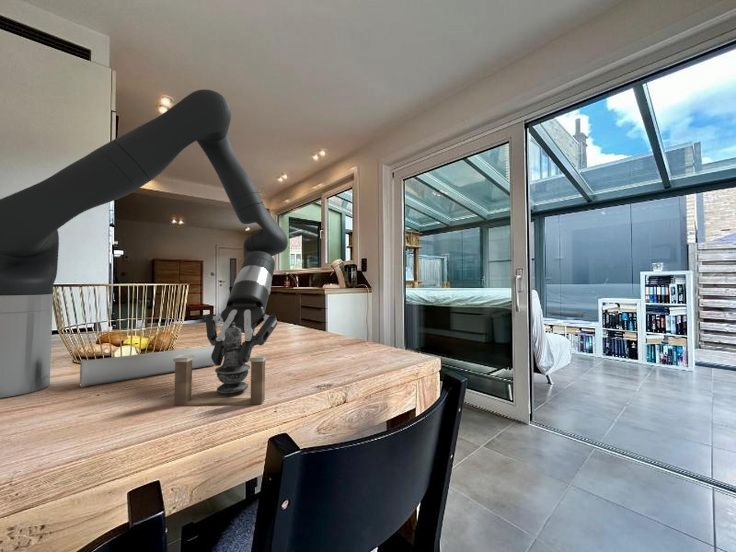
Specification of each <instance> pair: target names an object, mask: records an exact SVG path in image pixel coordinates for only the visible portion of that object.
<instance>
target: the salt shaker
mask: <svg viewBox="0 0 736 552" xmlns="http://www.w3.org/2000/svg"><path fill="white" fill-rule="evenodd" d="M242 334H243V333H242V331H241V329H240V328H238V327H236V326H235V323H234V322H233V323H232V326H231V327H229V328H227V329H226V330H225V346H224V347H223V348H222V349H224V357H223V360H222V364H221V365H220V366H217V367H216V368H215V370H214V371H215V373H216V377H217V378H218V380H219V381H220V383H222V384H221V385H219V386H218V387H217V388H216V392H218V393H221V394H234V393H239V392H242V391H245V390H247V389H248V388H249V384H248V383H246V382H245V381H244V380H245V379H246V378H247V377H248V374H249V370H251V365H249V364H246V363H245V365H244V366H240V365H239V363H238V356H239V353H240V349H241V346H242Z"/></svg>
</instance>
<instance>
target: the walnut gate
mask: <svg viewBox="0 0 736 552" xmlns="http://www.w3.org/2000/svg"><path fill="white" fill-rule="evenodd" d="M267 357H268V355H267V354H252V355H250V359H249V362H250V397H215V398H214V397H207V398H205V397H203V398H201V397H195V398H192V387H193V386H192V384H193V383H192V382H193V369H192V359H194V355H179V356H177V357H175V358H173V362H175V372H174V395H173V396H174V399H173V403H174V404H173V405H174V406H242V405H243V406H244V405H245V406H246V405H249V406H250V405H263V403H264V402H265V400H266V399H265V397H266V396H265V394H266V393H265V392H266V390H265V389H266V388H265V387H266V359H267Z"/></svg>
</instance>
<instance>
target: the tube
mask: <svg viewBox="0 0 736 552" xmlns="http://www.w3.org/2000/svg"><path fill="white" fill-rule="evenodd" d="M214 347H215V346H212V345H208V346H200V347H190V348H189V347H188V348H181V349H173V350H164V351H157V352H155V351H154V352H148V353H139V354H131V355H122V356H120V355H119V356H112V357H103V358H97V359H85V358H84V359H81V360H80V365H79V366H80V367H79V385H80V384H81V387H83V388H85V386H86V387H91V386H90V385H92V386H96V384H98V385H103V384H104V385H105V384H108V383H115V382H121V381H129V380H133V379H134V380H135V379H139V378H140V379H141V378H146V377H151V376H159V375H163V374H164V373H165V374H170V373H175V362H173V358H175V357H177V356H179V355H194V359H192V370H196V369H200V368H201V367H202V368H207V367H206V366H208V367H212V365H213V366H216V365H215V364H214V362H213V360H212V358H211V355H212V352H213V350H214ZM195 368H196V369H195ZM158 374H159V375H158Z"/></svg>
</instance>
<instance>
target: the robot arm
mask: <svg viewBox="0 0 736 552" xmlns="http://www.w3.org/2000/svg"><path fill="white" fill-rule="evenodd" d="M231 111H232V110H231V106H230V104H229V102H228V100H227V98H225V97H224V96H223V95H222V94H221V93H219V92H217V91H216V90H211V89H205V88H204V89H199V90H195V91H192V92H191V93H189V94H188V95H186V96H185V97H183V98H182V99H181V100H180V101H178V102H176V103H175V104H174V105H173V106H171V108H169V109H168V110H166V111H164V112H163V113H162V114H160V115H159V116H157V117H155V118H153V119H151V120H149V121H147V122H145V123H143V124H141V125H140V126H139V125H138V127H136V128H133V129H132V130H130V131H128V132H126V133H124V134H122V135H119V137H117V138H114V139H112V140H111V141H109V142H107V143H105V144H104V145H101V146H100V147H98V148H96V149H94V150H93V151H91V152H90V153H88V154H87V155H85V156H83V157H81V158H80V159H78V160H76V161H74V162H72V163H70V164H69V165H67V166H66V167H64V168H62V169H61V170H59V171H57V172H56V173H54V174H52V175H51V176H50V177H48V178H45V179H44V180H41V181H40V182H38V183H36V184H34V185H31V186H29V187H26V188H24V189H21V190H19V191H17V192H14V193H12V194H10V195H6V196H5V197H2V198H0V399H1V398H8V397H14V396H15V397H16V396H20V395H24V394H28V393H29V394H30V393H33V392H36V391H39V390H43V389H45V388H47V387H49V386H50V384H51V367H52V362H51V361H52V336H53V335H52V333H53V303H54V302H53V300H54V299H53V297H54V296H53V295H54V294H53V293H54V285H55V281H56V279H57V275H58V267H59V266H58V263H59V251H60V250H59V247H60V246H59V245H60V242H59V241H60V237H59V231H58V230H59V229H60V228H61V227H63V226H65V224H67V223H68V222H70V221H71V220H72V219H74V218H75V217H77V216H79V215H81V214H82V213H84V212H87V211H88V210H91V209H93V208H97V207H99V206H100V207H101V206H102V205H106V204H108V203H111V202H113V201H117V200H120V199H122V198H124V197H126V196H129V195H130V194H132V193H135V191H137V190H139V189H140V188H142V187H143V186H145V185H146V184H148V183H150V182H151V181H153V180H154V179H156V178H157V177H158V176H159V175H160V174H161V173H162V172H163V171H165V169H167V167H169V165H170V164H171V163H172V162H173V161H174V160H175V159H176V158H177V156H178V155H179V154H180V153H181V152H182V151H184V149H186V148H187V147H188V146H190V145H192V144H193V143H195V142H197V144H199V147H200V148H201V149H202V151H203V152H204V154H205V155H206V157H207V159H208V160H209V162H210V164H211V165H212V167H213V169H214V171H215V173H216V174H217V176H218V179H219V180H220V183H221V184H222V187H223V189H224V191H225V193H226V196H227V198H228V200H229V202H230V204H231V207H232V208H233V210H234V212H235V215H236V216H237V217H236V218H238V221H239V222H240V223H241V224H243V225H249V224H257V225H259V227H260V228H261V229H260V230H258V231H256V232H253V233H251V234H249V235H248V236H247V237H246V238H245V240H244V241H243V244H242V247H243V248H242V249H243V250H242V251H243V261H242V264H241V267H240V271H239V272H238V274H237V275H236V278H235V280H234V282H233V286H232V288H231V291H230V293H229V297H228V299H227V302H226V307H225V308H224V309H223V310H222V311H221V313H220V314H217V315H213V314H212V313H207V314H206V315H205V326H206V329H205V330H206V337H207V339H208V341H209V343H210V344H211V345H210V346H212V347H214V350H213V352H212V355H211V358H212V360H213V362H214V364H215V365H214V366H215V367H221V366H222V364H223V361H224V349H222V348H223V347H224V346H225V330H226V329H227V328H229V327H231V326H232V323H233V322H234V323H235V326H236V327H238V328H240V329H241V331H242V334H244V341H241V345H242V346H241V349H240V353H239V356H238V363H239V365H240V366H244V365H245V364H246V363H248V362H250V357H251V356H252V351H253V348H254V347H255V346H263V345H264V344H265V343H266V342H267V340H268V339H269V338H270V336H271V334H272V333H273V332H274V330H275V328H276V327H277V325H278V320H277V316H276V314H274V313H271V314H270V315H269V314H266V308H267V305H268V302H269V301H268V300H269V298H270V297H269V296H270V294H271V289H272V281H273V276H274V273H275V269H276V267H275V266H276V263H275V262H276V261H275V259H274V256H276V255H279V254H281V253H283V252H285V251H286V250H287V248H288V244H289V243H288V242H289V241H288V236H287V235H286V233H285V231H284V230H283V228H282V227H281V226H280V225H279V224H278V222H277V221H276V220H275V219H274V217H273V215H272V214H271V213H270V212H269V211H268V209H267V207H266V206H265V204H264V201H263V199H262V197H261V195H260V193H259V190H258V188H257V187H256V185H255V183H254V182H253V181H254V180H252V177H250V175H249V174H248V173H247V171H246V170H245V168H244V167H243V166H242V164H241V163H240V160H239V159H238V157H237V156H236V153H235V151H234V149H233V146H232V143H231V139H230V137H229V132H228V131H229V128H230V125H231V121H232V112H231ZM221 322H223V324H222V325H221V328H220V332H219V333H217V332H218V331H217V330H218V329H217V328H218V327H219V326H220V323H221ZM262 323H263V324H262ZM261 324H262V325H261ZM260 325H261V326H260ZM258 326H260V328H259V329H258V331H257V332H256V334H255V329H256V328H257V327H258Z"/></svg>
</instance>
